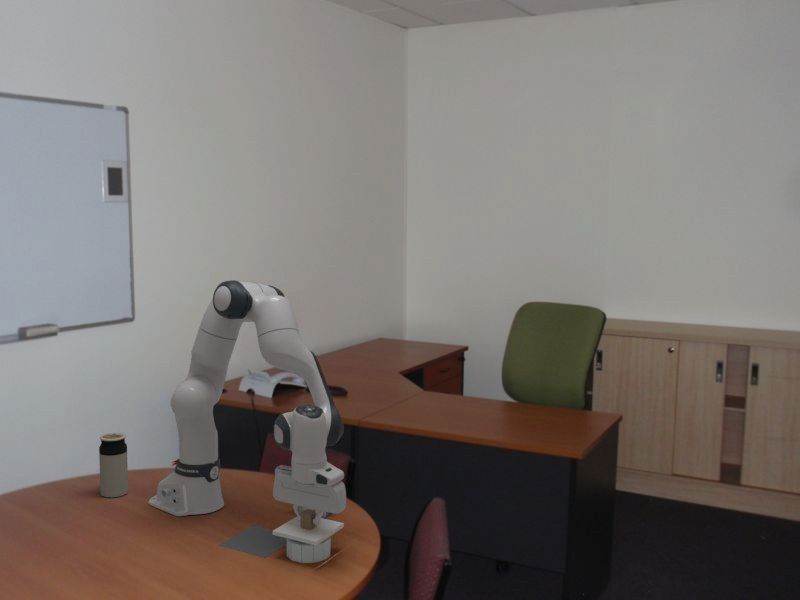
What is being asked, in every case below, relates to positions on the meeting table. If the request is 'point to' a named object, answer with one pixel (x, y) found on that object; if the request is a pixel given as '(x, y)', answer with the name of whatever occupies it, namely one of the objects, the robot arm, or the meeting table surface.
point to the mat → (256, 541)
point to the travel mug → (113, 465)
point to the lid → (308, 528)
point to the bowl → (308, 551)
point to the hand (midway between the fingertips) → (308, 522)
